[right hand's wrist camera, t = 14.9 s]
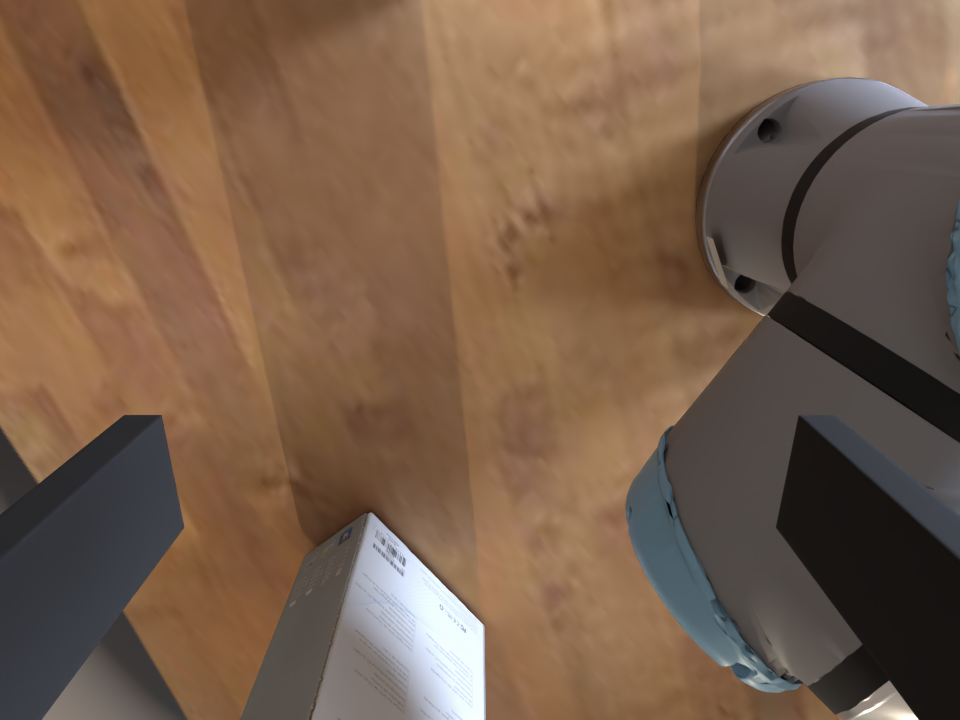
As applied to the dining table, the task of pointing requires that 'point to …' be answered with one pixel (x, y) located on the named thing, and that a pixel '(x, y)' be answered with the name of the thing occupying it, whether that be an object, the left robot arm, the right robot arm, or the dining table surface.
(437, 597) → the hard drive box
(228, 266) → the dining table surface
